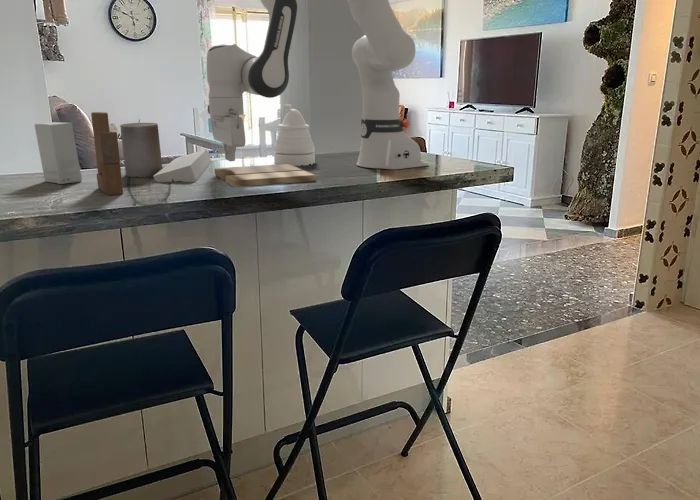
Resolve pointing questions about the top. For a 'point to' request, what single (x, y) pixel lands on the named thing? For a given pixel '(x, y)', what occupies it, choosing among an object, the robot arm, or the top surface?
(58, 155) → the skincare box
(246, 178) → the laid oak board
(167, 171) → the decorative molding
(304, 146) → the honey pot
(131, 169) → the pillar candle
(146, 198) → the top surface
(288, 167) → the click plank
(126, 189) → the top surface
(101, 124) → the wooden block
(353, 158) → the top surface
